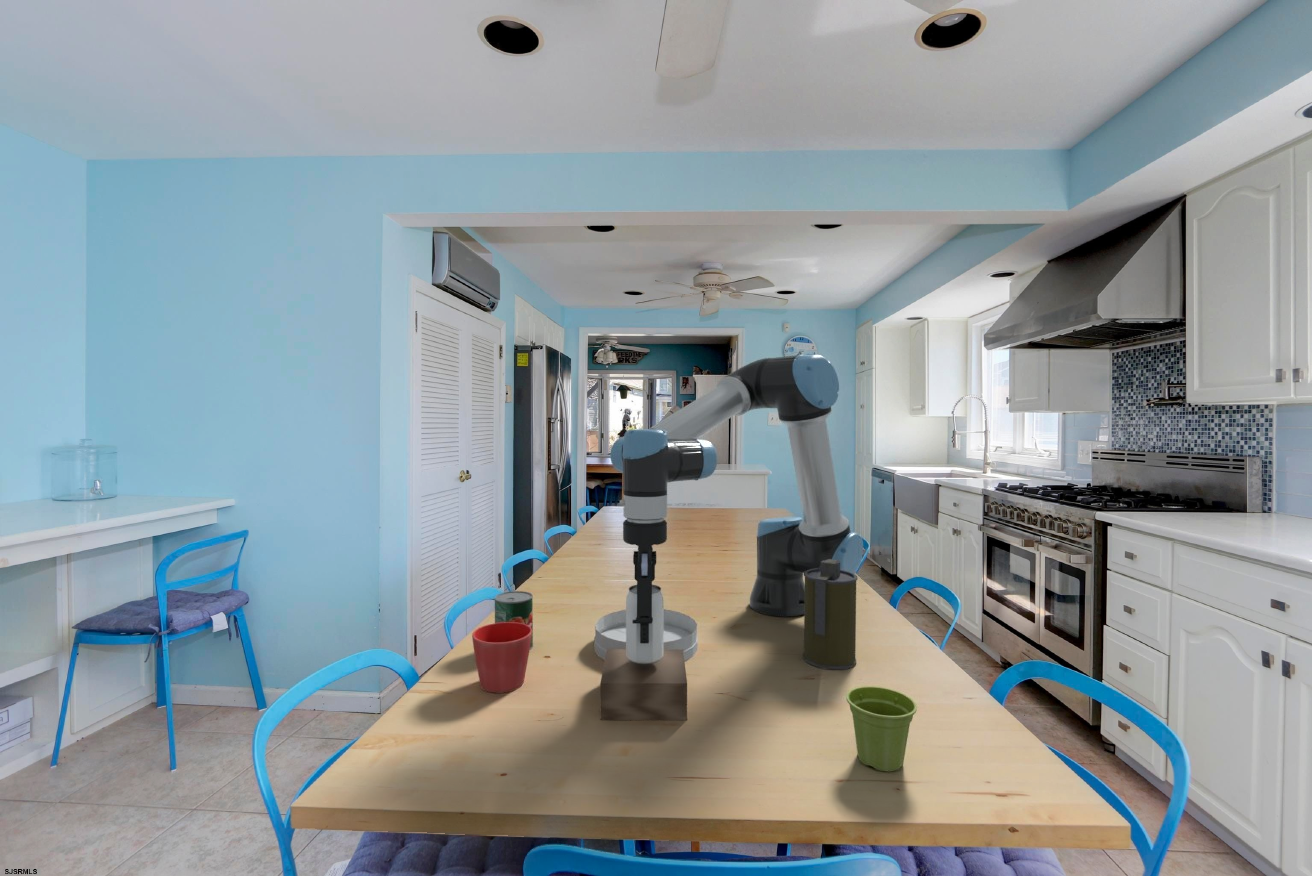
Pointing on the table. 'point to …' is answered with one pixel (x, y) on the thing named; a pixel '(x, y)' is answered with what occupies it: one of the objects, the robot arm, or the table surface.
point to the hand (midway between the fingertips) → (644, 651)
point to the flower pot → (502, 655)
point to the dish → (676, 633)
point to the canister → (830, 616)
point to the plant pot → (881, 725)
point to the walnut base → (643, 687)
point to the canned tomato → (515, 608)
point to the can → (657, 624)
